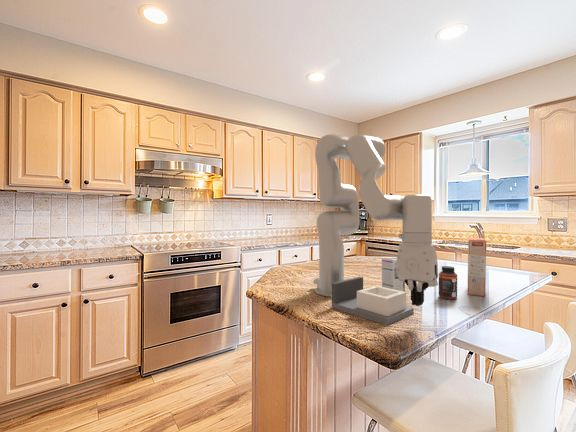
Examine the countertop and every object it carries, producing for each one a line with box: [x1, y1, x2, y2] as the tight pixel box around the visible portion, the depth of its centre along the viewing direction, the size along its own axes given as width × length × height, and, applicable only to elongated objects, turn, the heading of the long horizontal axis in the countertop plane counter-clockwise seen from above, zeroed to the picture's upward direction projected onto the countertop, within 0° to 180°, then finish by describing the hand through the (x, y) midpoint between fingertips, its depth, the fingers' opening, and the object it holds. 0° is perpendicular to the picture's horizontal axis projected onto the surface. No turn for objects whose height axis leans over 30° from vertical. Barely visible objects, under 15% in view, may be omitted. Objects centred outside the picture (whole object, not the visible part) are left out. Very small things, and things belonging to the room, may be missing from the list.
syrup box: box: [381, 256, 406, 292], centre depth 108 cm, size 6×6×14 cm
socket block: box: [357, 285, 407, 316], centre depth 91 cm, size 11×11×5 cm
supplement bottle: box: [438, 265, 458, 301], centre depth 108 cm, size 6×6×11 cm
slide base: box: [331, 276, 415, 326], centre depth 94 cm, size 20×15×8 cm
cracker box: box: [467, 237, 487, 297], centre depth 116 cm, size 14×6×21 cm, turn 148°
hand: (417, 304), depth 83 cm, fingers closed
